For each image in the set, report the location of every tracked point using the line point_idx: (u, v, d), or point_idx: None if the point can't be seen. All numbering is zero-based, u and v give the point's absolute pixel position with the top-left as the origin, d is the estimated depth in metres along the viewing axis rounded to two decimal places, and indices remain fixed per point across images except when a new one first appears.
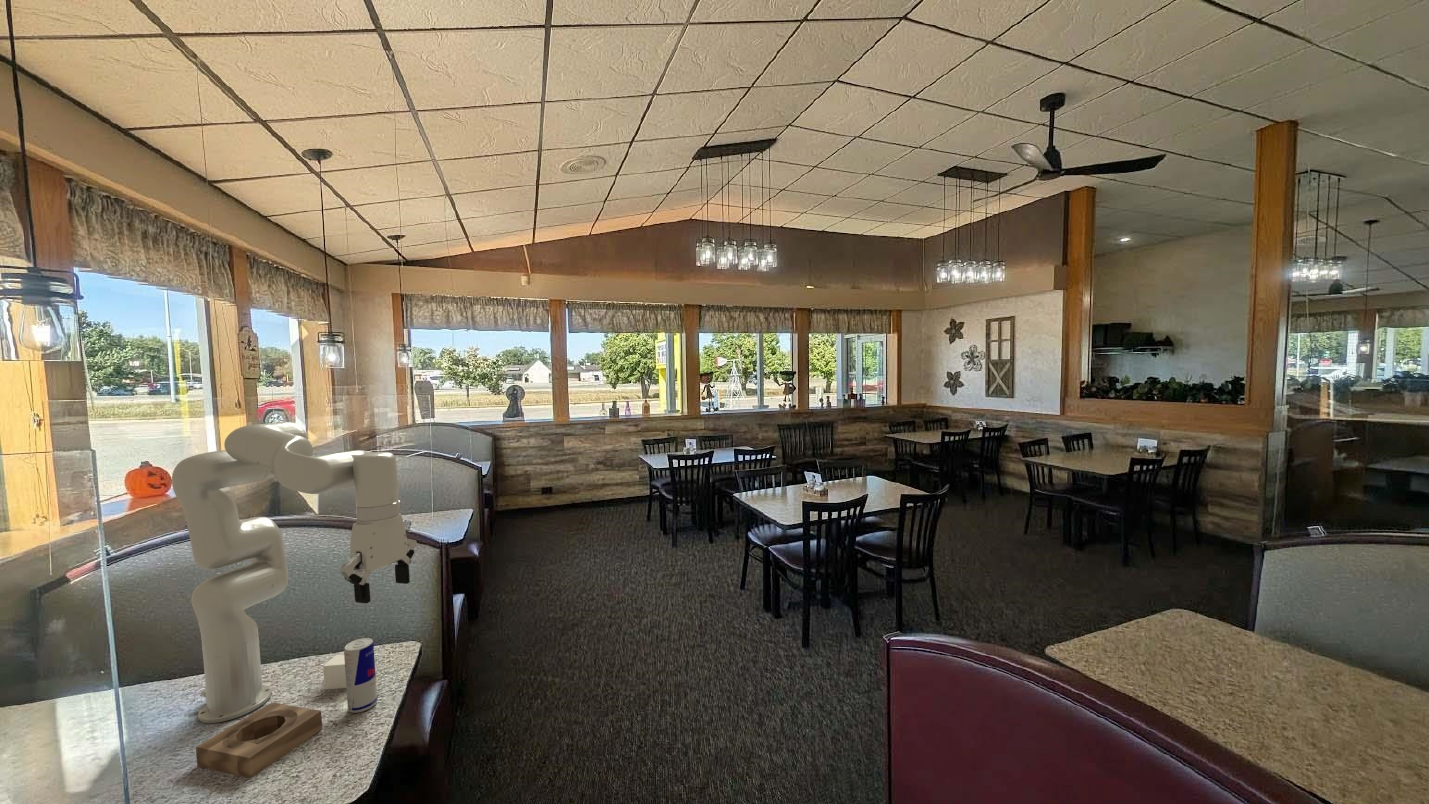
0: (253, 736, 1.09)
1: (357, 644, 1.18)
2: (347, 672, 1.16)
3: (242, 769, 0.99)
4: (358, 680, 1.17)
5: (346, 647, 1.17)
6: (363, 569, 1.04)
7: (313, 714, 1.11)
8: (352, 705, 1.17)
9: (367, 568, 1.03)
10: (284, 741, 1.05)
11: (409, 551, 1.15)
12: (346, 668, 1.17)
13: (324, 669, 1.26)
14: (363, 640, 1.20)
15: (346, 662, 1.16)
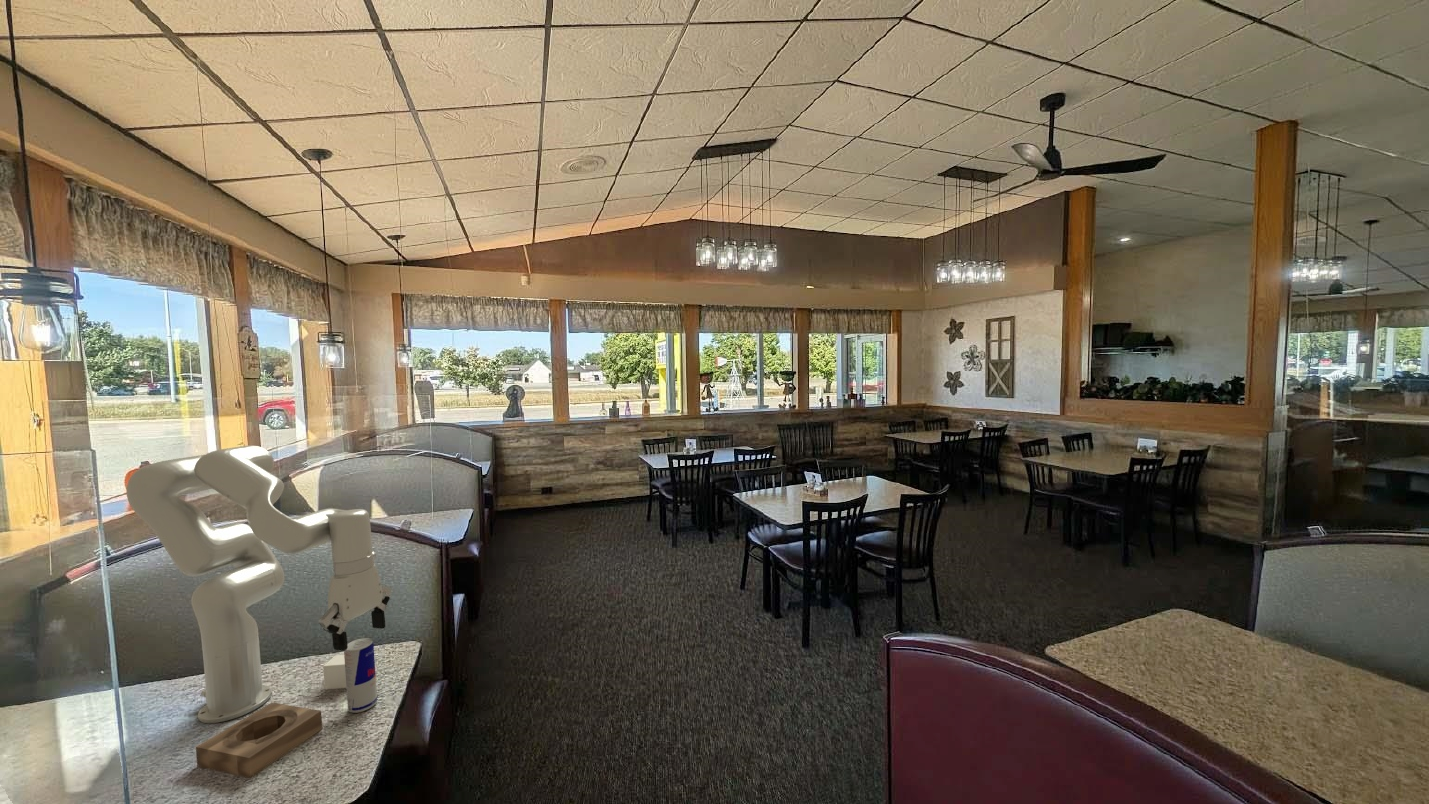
0: (253, 736, 1.09)
1: (357, 644, 1.18)
2: (347, 672, 1.16)
3: (242, 769, 0.99)
4: (358, 680, 1.17)
5: None
6: (340, 619, 1.14)
7: (313, 714, 1.11)
8: (352, 705, 1.17)
9: (344, 618, 1.13)
10: (284, 741, 1.05)
11: (384, 598, 1.24)
12: (346, 668, 1.17)
13: (324, 669, 1.26)
14: (363, 640, 1.20)
15: (346, 662, 1.16)
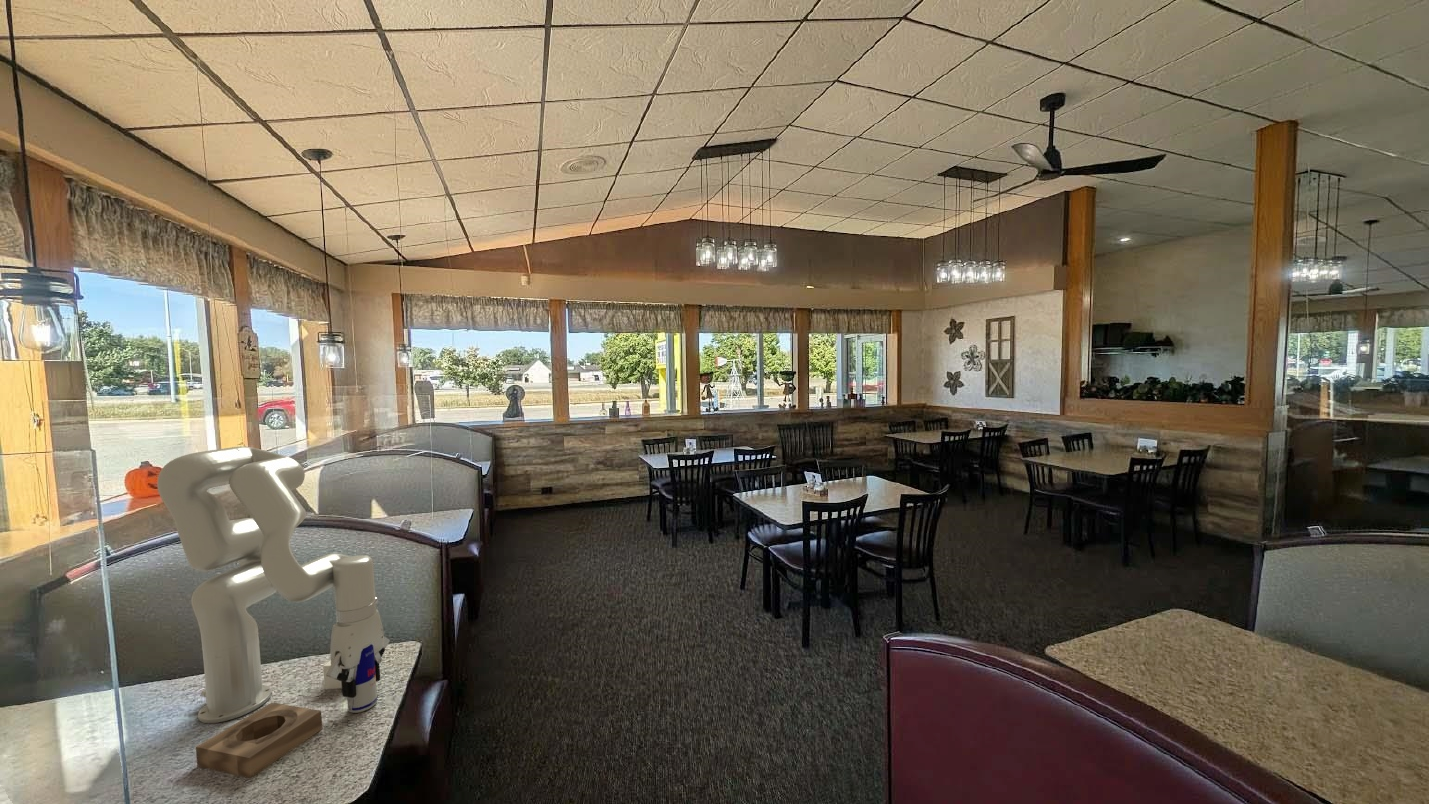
0: (253, 736, 1.09)
1: None
2: None
3: (242, 769, 0.99)
4: (358, 680, 1.17)
5: None
6: None
7: (313, 714, 1.11)
8: (352, 705, 1.17)
9: (346, 666, 1.14)
10: (284, 741, 1.05)
11: (380, 650, 1.24)
12: None
13: (324, 669, 1.26)
14: None
15: None
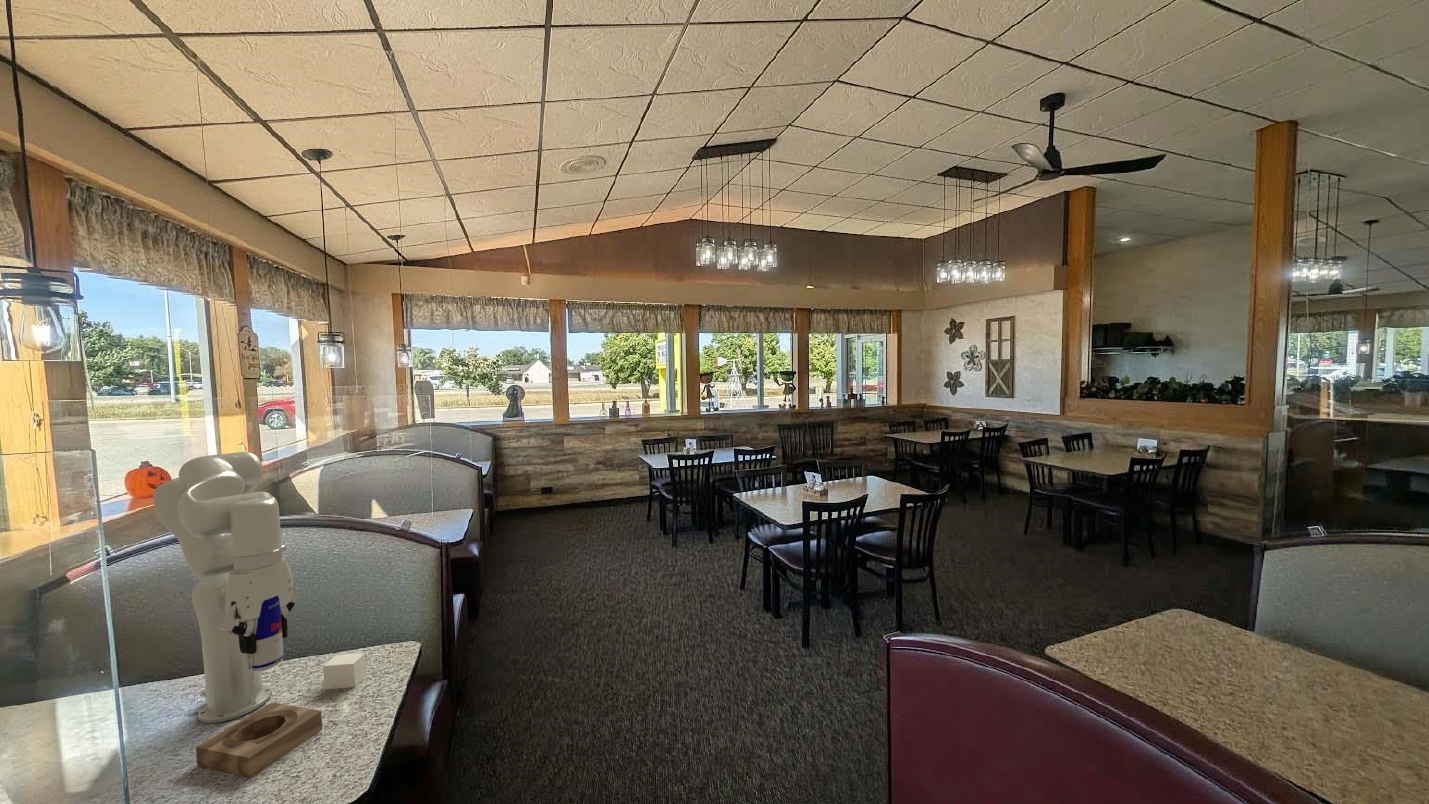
0: (253, 736, 1.09)
1: None
2: None
3: (242, 769, 0.99)
4: (259, 635, 1.04)
5: None
6: None
7: (313, 714, 1.11)
8: (252, 662, 1.05)
9: (243, 618, 1.02)
10: (284, 741, 1.05)
11: (288, 604, 1.11)
12: (245, 622, 1.04)
13: (324, 669, 1.26)
14: None
15: None
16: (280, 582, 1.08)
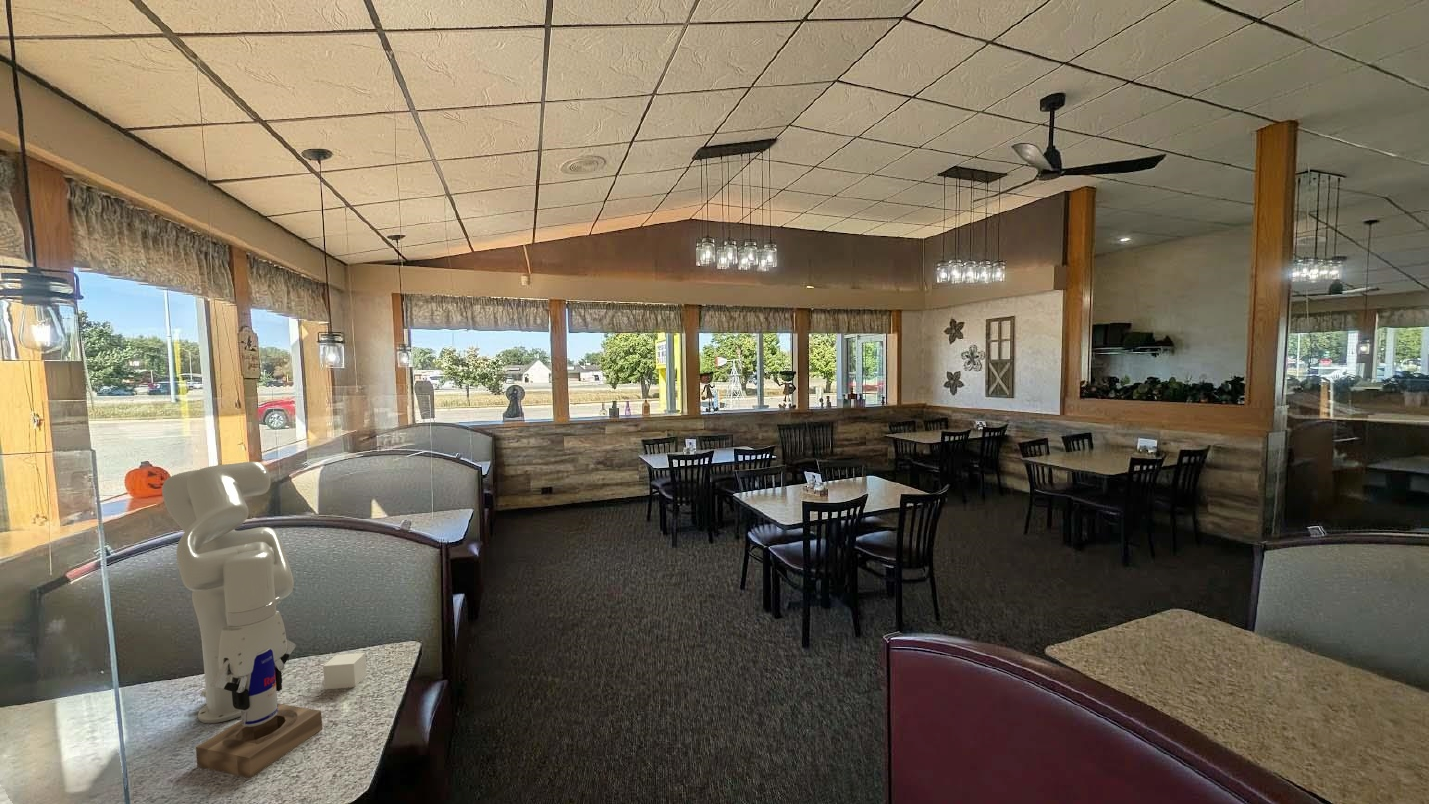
0: (253, 736, 1.09)
1: None
2: None
3: (242, 769, 0.99)
4: (252, 690, 1.04)
5: None
6: None
7: (313, 714, 1.11)
8: (246, 718, 1.04)
9: (235, 675, 1.01)
10: (284, 741, 1.05)
11: (283, 656, 1.11)
12: None
13: (324, 669, 1.26)
14: None
15: None
16: (274, 635, 1.07)
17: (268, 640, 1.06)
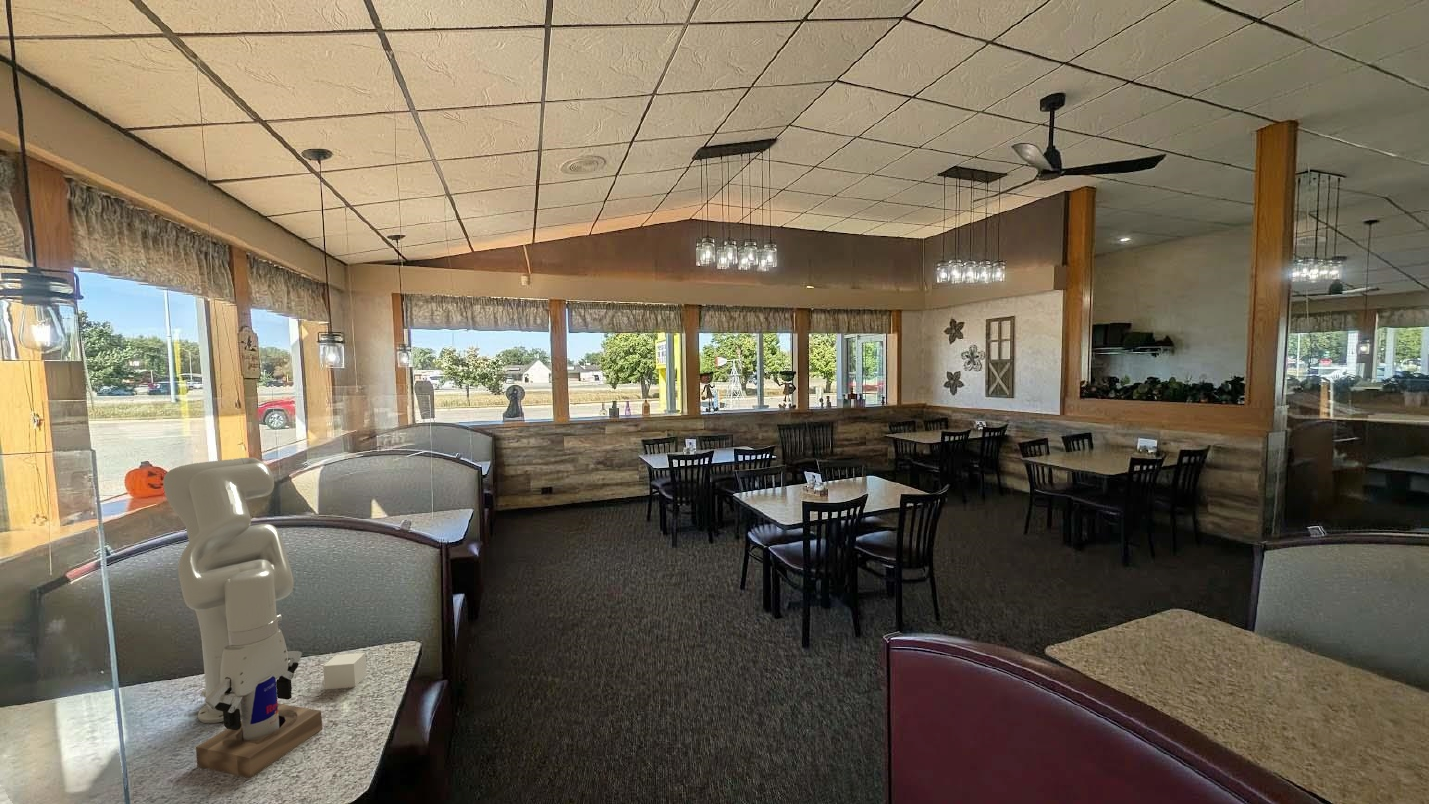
0: None
1: None
2: (242, 709, 1.04)
3: (242, 769, 0.99)
4: (254, 718, 1.04)
5: None
6: (233, 695, 1.02)
7: (313, 714, 1.11)
8: None
9: (237, 694, 1.01)
10: (284, 741, 1.05)
11: (292, 664, 1.13)
12: (241, 705, 1.04)
13: (324, 669, 1.26)
14: None
15: None
16: (275, 654, 1.08)
17: (270, 658, 1.06)
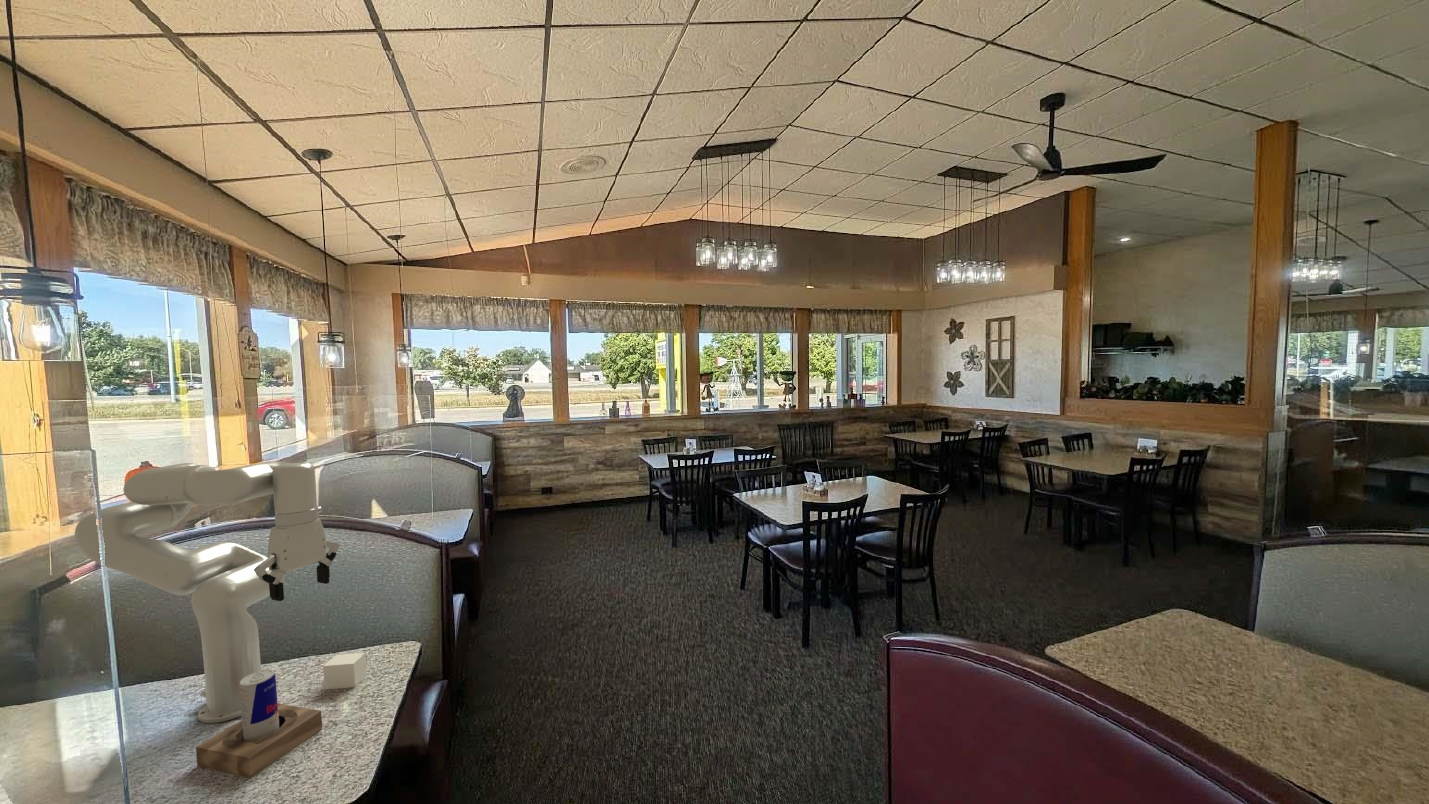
0: None
1: (255, 677, 1.06)
2: (242, 709, 1.04)
3: (242, 769, 0.99)
4: (254, 718, 1.04)
5: (242, 681, 1.05)
6: (278, 570, 1.14)
7: (313, 714, 1.11)
8: None
9: (281, 569, 1.13)
10: (284, 741, 1.05)
11: (331, 553, 1.24)
12: (241, 705, 1.04)
13: (324, 669, 1.26)
14: (264, 672, 1.08)
15: (241, 698, 1.04)
16: (315, 539, 1.19)
17: (310, 542, 1.18)
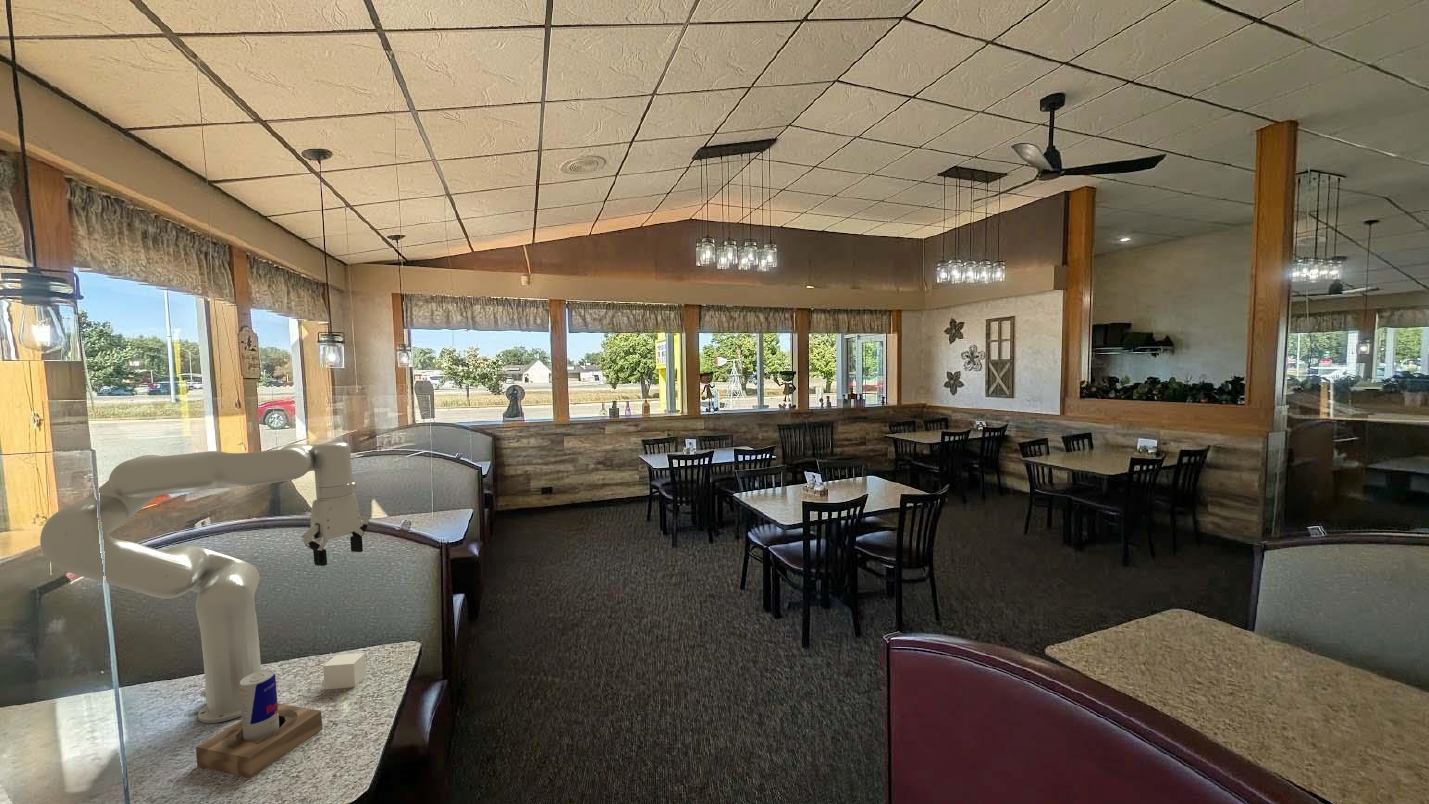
0: None
1: (255, 677, 1.06)
2: (242, 709, 1.04)
3: (242, 769, 0.99)
4: (254, 718, 1.04)
5: (242, 681, 1.05)
6: (321, 538, 1.26)
7: (313, 714, 1.11)
8: None
9: (324, 537, 1.26)
10: (284, 741, 1.05)
11: (363, 525, 1.37)
12: (241, 705, 1.04)
13: (324, 669, 1.26)
14: (264, 672, 1.08)
15: (241, 698, 1.04)
16: (351, 511, 1.32)
17: (347, 514, 1.31)
